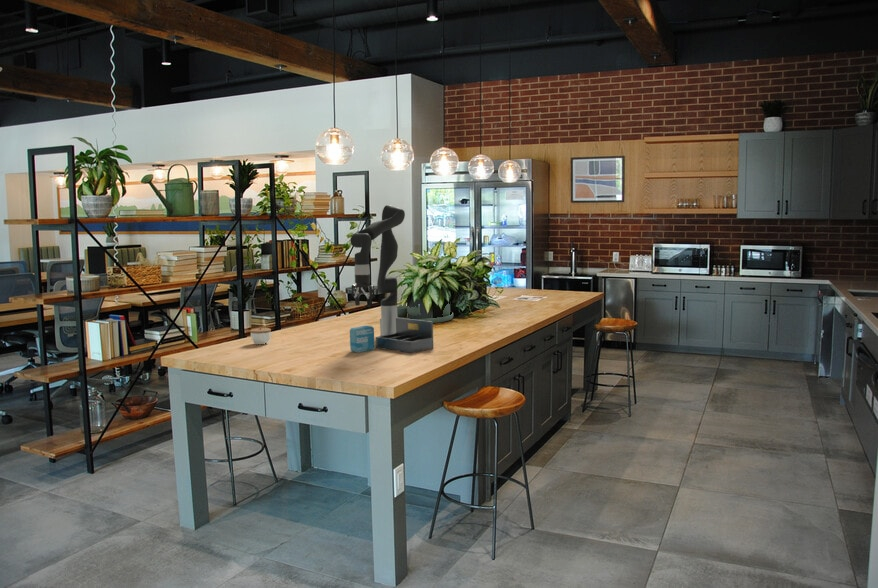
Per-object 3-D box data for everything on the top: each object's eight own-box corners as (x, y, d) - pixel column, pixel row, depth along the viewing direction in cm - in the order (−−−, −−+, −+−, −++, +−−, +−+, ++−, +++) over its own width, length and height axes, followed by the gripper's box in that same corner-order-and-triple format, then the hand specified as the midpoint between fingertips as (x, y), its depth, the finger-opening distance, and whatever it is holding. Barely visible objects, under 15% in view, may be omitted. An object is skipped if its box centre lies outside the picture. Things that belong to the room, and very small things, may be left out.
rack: (376, 347, 358) (375, 321, 356) (397, 342, 370) (397, 317, 368) (412, 353, 342) (411, 326, 340) (433, 348, 354) (432, 321, 352)
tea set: (440, 313, 476) (440, 289, 474) (461, 321, 438) (461, 295, 436) (384, 317, 463) (383, 292, 461) (400, 326, 426) (400, 299, 424)
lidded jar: (266, 345, 370) (265, 328, 369) (247, 345, 372) (246, 328, 371) (274, 342, 381) (274, 325, 380) (256, 341, 383) (255, 325, 382)
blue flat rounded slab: (355, 353, 346) (354, 329, 344) (350, 351, 349) (349, 328, 348) (374, 349, 354) (374, 326, 352) (369, 348, 357) (368, 325, 356)
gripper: (346, 273, 349) (348, 306, 351) (366, 274, 340) (368, 307, 342) (357, 272, 355) (359, 304, 356) (377, 273, 346) (378, 305, 347)
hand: (363, 305), depth 349 cm, fingers open, 8 cm apart
